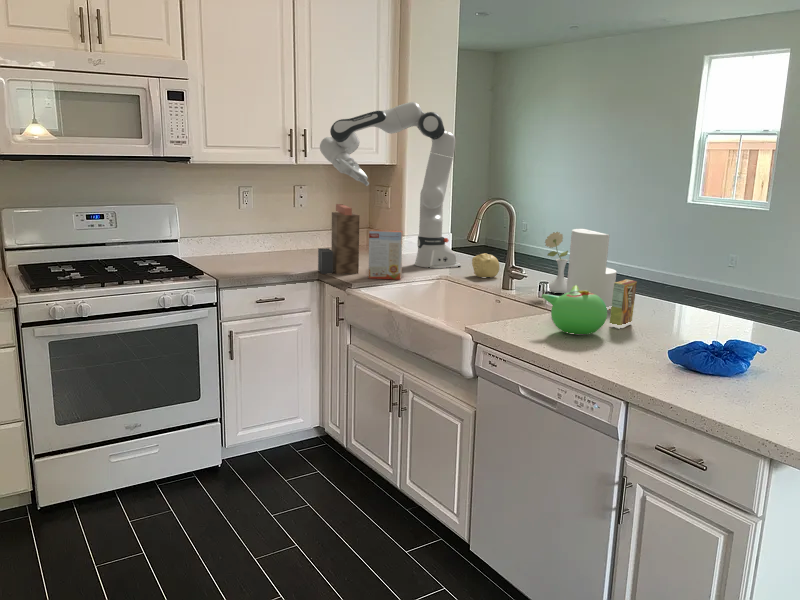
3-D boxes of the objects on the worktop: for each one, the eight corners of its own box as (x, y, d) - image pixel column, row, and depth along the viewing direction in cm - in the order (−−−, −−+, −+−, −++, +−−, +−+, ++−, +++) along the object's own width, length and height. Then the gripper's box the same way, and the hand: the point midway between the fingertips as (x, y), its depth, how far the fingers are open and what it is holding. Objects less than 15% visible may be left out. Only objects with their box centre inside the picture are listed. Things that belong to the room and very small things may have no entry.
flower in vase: (570, 290, 280) (575, 230, 274) (576, 296, 268) (582, 234, 263) (538, 289, 280) (543, 229, 274) (543, 295, 269) (548, 233, 263)
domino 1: (328, 270, 307) (329, 248, 305) (329, 270, 306) (329, 248, 303) (318, 270, 306) (318, 248, 304) (318, 270, 304) (318, 249, 302)
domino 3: (331, 272, 301) (332, 250, 298) (332, 273, 299) (332, 251, 297) (320, 273, 299) (320, 250, 297) (321, 273, 298) (321, 251, 296)
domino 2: (330, 271, 304) (330, 249, 302) (331, 272, 302) (331, 250, 300) (319, 271, 303) (319, 249, 300) (320, 272, 301) (320, 250, 299)
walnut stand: (352, 268, 313) (353, 212, 307) (358, 273, 301) (359, 215, 295) (331, 269, 310) (331, 212, 304) (336, 273, 298) (337, 215, 293)
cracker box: (401, 277, 295) (403, 230, 290) (400, 280, 289) (401, 231, 284) (369, 276, 296) (371, 228, 292) (367, 278, 290) (369, 230, 286)
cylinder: (580, 312, 243) (588, 234, 237) (556, 301, 260) (563, 228, 253) (622, 310, 248) (630, 234, 242) (596, 299, 264) (603, 228, 258)
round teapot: (578, 344, 203) (582, 296, 200) (536, 330, 216) (540, 286, 213) (615, 336, 213) (620, 290, 210) (573, 323, 227) (577, 281, 223)
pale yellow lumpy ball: (467, 275, 306) (468, 251, 304) (490, 274, 310) (492, 250, 308) (479, 280, 296) (480, 255, 293) (503, 278, 300) (504, 255, 298)
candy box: (620, 322, 230) (625, 278, 226) (632, 325, 227) (637, 280, 224) (608, 327, 223) (613, 282, 220) (620, 330, 221) (625, 284, 217)
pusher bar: (342, 210, 313) (342, 204, 312) (351, 215, 294) (351, 208, 294) (335, 210, 312) (336, 204, 312) (345, 215, 294) (345, 208, 293)
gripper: (337, 151, 302) (356, 170, 297) (359, 164, 321) (377, 182, 316) (328, 162, 304) (347, 181, 299) (350, 174, 322) (368, 192, 317)
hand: (362, 182), depth 308 cm, fingers open, 8 cm apart
